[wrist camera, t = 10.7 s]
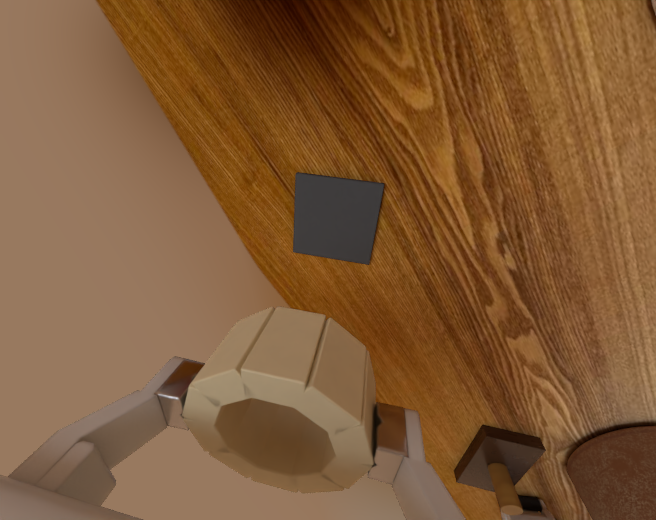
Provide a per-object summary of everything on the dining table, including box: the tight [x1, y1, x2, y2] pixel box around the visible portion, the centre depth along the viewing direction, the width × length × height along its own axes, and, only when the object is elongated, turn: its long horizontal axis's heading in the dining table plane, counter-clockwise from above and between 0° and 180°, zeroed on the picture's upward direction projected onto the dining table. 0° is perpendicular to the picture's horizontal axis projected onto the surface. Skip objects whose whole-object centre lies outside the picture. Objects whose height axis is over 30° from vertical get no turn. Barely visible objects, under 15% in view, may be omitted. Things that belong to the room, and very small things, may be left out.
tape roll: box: [182, 306, 376, 493], centre depth 10 cm, size 6×7×3 cm
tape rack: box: [454, 425, 546, 515], centre depth 34 cm, size 12×7×6 cm, turn 175°
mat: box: [293, 172, 384, 265], centre depth 25 cm, size 8×8×1 cm
